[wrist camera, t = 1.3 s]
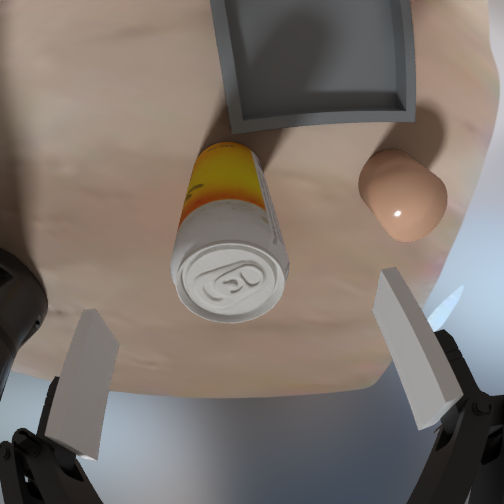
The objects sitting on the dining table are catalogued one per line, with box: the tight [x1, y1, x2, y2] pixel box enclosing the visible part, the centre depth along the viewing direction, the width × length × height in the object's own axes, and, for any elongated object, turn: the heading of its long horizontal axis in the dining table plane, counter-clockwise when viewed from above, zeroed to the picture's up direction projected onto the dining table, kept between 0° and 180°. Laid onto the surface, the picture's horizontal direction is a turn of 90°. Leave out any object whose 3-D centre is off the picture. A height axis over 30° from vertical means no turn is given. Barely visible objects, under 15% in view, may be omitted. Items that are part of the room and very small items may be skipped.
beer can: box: [170, 142, 289, 323], centre depth 20 cm, size 6×6×15 cm
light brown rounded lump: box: [358, 149, 447, 242], centre depth 26 cm, size 7×7×6 cm
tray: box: [210, 0, 416, 135], centre depth 18 cm, size 16×16×3 cm
